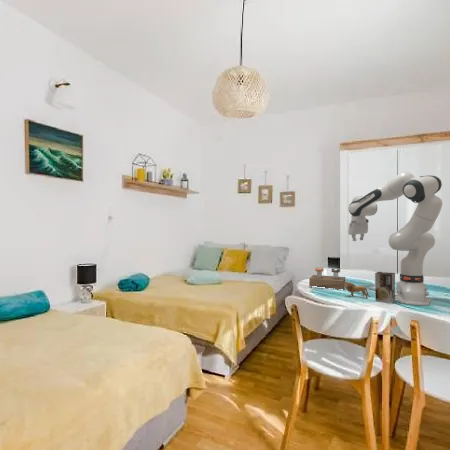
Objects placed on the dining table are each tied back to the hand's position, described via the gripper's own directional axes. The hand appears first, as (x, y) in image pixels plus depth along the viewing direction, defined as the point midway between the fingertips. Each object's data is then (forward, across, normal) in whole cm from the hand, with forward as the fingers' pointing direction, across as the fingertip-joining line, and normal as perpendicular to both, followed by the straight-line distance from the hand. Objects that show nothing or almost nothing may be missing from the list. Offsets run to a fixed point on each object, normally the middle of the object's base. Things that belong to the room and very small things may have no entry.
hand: (358, 240), depth 215 cm
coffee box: (+31, -24, -29) cm, 49 cm away
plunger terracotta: (+28, -16, +20) cm, 37 cm away
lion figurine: (+31, -27, -13) cm, 44 cm away
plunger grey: (+27, -11, +10) cm, 31 cm away
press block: (+32, -14, +14) cm, 38 cm away
